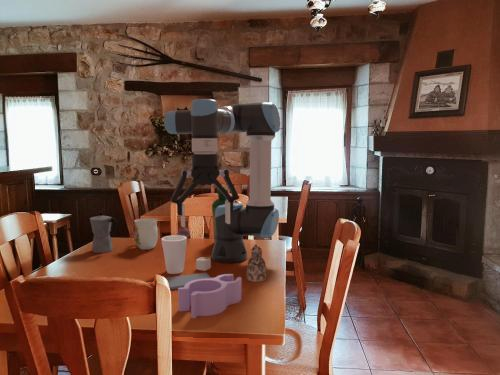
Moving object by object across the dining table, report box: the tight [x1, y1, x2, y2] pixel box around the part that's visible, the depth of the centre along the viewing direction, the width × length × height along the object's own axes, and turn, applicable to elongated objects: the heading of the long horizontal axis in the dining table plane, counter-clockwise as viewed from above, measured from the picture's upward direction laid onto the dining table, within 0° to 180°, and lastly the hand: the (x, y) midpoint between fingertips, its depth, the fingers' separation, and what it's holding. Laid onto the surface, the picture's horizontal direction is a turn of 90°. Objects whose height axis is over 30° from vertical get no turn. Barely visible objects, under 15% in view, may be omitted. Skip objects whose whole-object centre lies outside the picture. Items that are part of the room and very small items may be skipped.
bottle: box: [211, 185, 229, 243], centre depth 196 cm, size 11×11×28 cm
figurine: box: [246, 244, 267, 283], centre depth 146 cm, size 7×7×12 cm
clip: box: [177, 273, 242, 319], centre depth 123 cm, size 20×12×7 cm, turn 133°
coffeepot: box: [89, 211, 118, 254], centre depth 183 cm, size 15×9×18 cm, turn 68°
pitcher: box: [133, 217, 159, 250], centre depth 189 cm, size 11×18×14 cm, turn 33°
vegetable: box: [177, 226, 191, 239], centre depth 201 cm, size 6×6×10 cm
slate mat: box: [165, 272, 212, 291], centre depth 143 cm, size 16×10×1 cm, turn 111°
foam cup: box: [161, 234, 188, 275], centre depth 154 cm, size 10×9×13 cm
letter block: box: [195, 256, 212, 272], centre depth 158 cm, size 4×4×4 cm
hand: (205, 224), depth 120 cm, fingers open, 13 cm apart
